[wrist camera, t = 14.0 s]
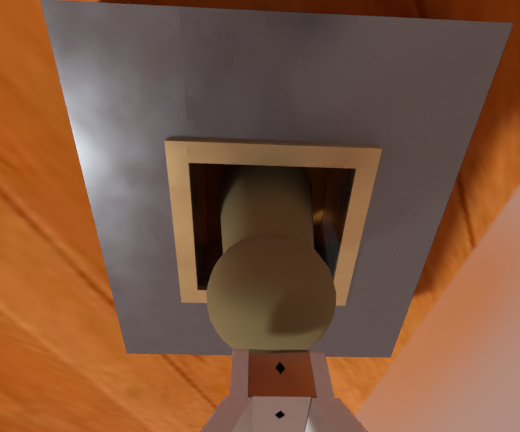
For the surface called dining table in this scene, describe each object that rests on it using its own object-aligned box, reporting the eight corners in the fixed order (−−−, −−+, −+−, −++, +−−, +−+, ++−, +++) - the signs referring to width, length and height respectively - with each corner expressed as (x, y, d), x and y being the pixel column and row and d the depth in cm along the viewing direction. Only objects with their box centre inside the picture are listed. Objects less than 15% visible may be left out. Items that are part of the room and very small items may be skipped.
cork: (329, 176, 21) (392, 303, 11) (282, 245, 24) (300, 396, 14) (243, 132, 19) (233, 237, 10) (203, 211, 22) (164, 354, 13)
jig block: (91, 5, 16) (35, -1, 12) (453, 23, 17) (519, 23, 13) (145, 304, 26) (125, 357, 22) (370, 308, 27) (391, 361, 23)
